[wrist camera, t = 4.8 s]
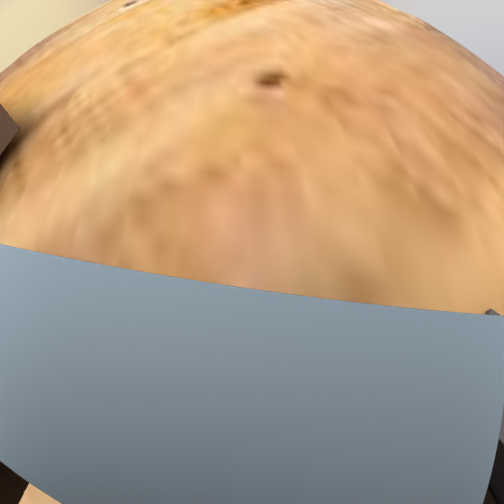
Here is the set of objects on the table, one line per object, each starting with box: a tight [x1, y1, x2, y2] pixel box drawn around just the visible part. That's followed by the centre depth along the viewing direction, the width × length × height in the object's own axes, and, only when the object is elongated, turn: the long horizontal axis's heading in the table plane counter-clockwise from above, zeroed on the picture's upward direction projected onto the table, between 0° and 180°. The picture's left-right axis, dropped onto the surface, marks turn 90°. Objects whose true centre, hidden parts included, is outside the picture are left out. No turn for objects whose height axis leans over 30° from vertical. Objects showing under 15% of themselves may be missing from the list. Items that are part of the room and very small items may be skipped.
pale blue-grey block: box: [0, 244, 504, 504], centre depth 8 cm, size 2×6×13 cm, turn 80°
